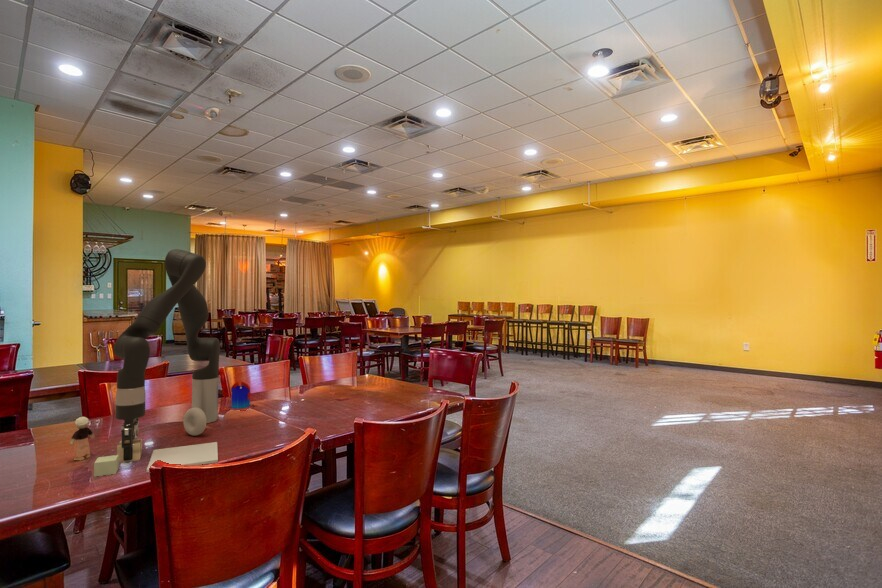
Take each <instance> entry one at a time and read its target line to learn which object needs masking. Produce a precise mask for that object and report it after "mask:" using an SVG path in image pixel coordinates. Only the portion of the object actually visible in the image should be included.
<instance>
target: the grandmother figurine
mask: <svg viewBox="0 0 882 588" xmlns="http://www.w3.org/2000/svg"><path fill="white" fill-rule="evenodd" d="M89 423H90V419H89V418H88V417H86V416H80V417H78V418H76V420H75V426H76V428H77V429H78V430H75V431H74V433H73V434H72V436H71V438H70V442H69V445H70V446H73V445H74V450H73V457H74V458H73V461H74V460H80V461H83V460H85V459H87V458H91V454H90V451H91V450H90V442H89V439H88V438H89V437H90V439H95V437H96V436H95V434H94V432H93V430H91V429H90V428H89V427H88V426H87V425H89Z"/></svg>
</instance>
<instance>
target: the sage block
mask: <svg viewBox="0 0 882 588" xmlns="http://www.w3.org/2000/svg"><path fill="white" fill-rule="evenodd" d="M119 464H120V463H119V455H117V454H114V455H106V456H99V457H97V458H96V460H95V462H94V463H93V465H94V466H93V478H97V477H96V476H99V477H104V476H103V475H106V476H112V475H111V474H113V475H116V474H117V472H118V470H119Z"/></svg>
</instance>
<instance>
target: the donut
mask: <svg viewBox="0 0 882 588" xmlns="http://www.w3.org/2000/svg"><path fill="white" fill-rule="evenodd" d="M194 418H195V420H196V424H195V423H194ZM182 423H183V427H184V430H185V431H186V432H187V434H188V435H190V436H195V437H197V436H200V435H201V434H202V433H203V432H204V431H205V429H206V427H207V424H208V423H207V421H206V416H205V413H204V412H203V411H202V410H201V409H200V408H197V407H195V408H192V407H190V408H189V409H187V411H186V412H185V413H184V416H183V421H182Z"/></svg>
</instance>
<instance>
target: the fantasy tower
mask: <svg viewBox="0 0 882 588" xmlns="http://www.w3.org/2000/svg"><path fill="white" fill-rule="evenodd" d="M230 388H231V389H230V392H231V400H230V402H231V404H230V407H229V408H228V407H224V408H222V411H223V410H224V411H223V412H226V411H225V410H229V409H230V410H240V411H246V410H247V409H248V410H250V409H249V408H251V409H253V408H258V407H257V406H258V405H257V404H255V403H254V404H253V403H252V405H250V404H251V386H250V385H249V384H248V383H247V382H246V381H241V382H240V385H239V382H238V381H237V382H235V383H233V385H231V387H230ZM252 406H253V407H252ZM230 410H229V411H230ZM248 410H247V411H248ZM247 411H246V412H247Z"/></svg>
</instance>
